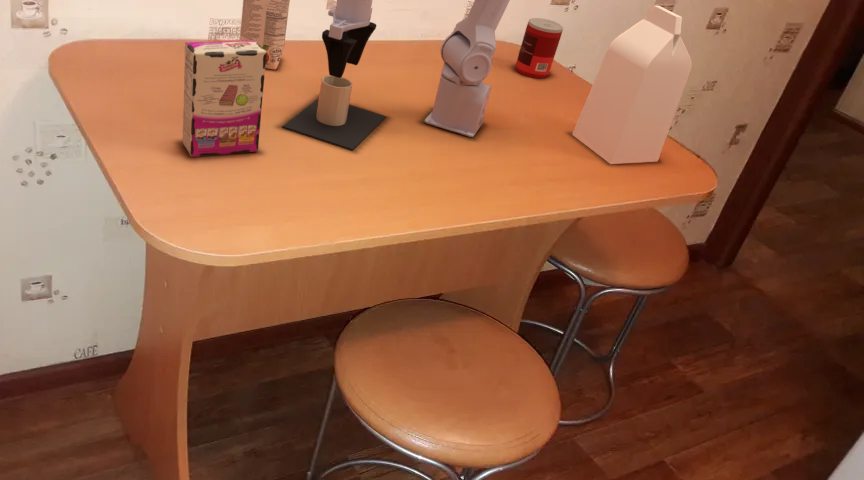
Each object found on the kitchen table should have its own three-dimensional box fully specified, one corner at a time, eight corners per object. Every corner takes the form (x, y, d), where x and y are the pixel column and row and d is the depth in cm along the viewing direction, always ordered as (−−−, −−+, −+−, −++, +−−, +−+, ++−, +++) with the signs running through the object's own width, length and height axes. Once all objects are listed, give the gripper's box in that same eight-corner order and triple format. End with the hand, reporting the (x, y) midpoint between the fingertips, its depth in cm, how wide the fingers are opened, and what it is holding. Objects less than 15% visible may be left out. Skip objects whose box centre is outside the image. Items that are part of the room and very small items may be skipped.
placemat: (385, 117, 145) (386, 116, 145) (352, 150, 131) (352, 149, 131) (321, 97, 148) (321, 95, 147) (282, 127, 134) (282, 126, 134)
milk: (571, 134, 153) (619, -2, 138) (617, 133, 158) (669, 1, 143) (610, 164, 144) (665, 22, 130) (657, 161, 149) (716, 24, 134)
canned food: (553, 73, 181) (568, 25, 175) (540, 81, 175) (556, 32, 169) (522, 62, 184) (536, 15, 177) (509, 70, 178) (523, 21, 171)
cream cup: (350, 118, 141) (356, 81, 137) (339, 128, 137) (345, 90, 133) (323, 110, 142) (328, 72, 138) (311, 119, 138) (316, 81, 134)
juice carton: (280, 72, 154) (291, -29, 143) (236, 65, 154) (244, -37, 143) (283, 59, 160) (295, -39, 149) (241, 51, 160) (249, -47, 149)
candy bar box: (247, 138, 129) (256, 39, 119) (258, 152, 125) (269, 51, 116) (179, 143, 124) (184, 39, 114) (189, 158, 120) (195, 53, 111)
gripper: (349, -26, 134) (338, 52, 142) (316, -9, 123) (305, 75, 131) (388, -16, 133) (374, 62, 141) (358, 3, 121) (344, 87, 129)
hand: (343, 69), depth 136 cm, fingers open, 7 cm apart
